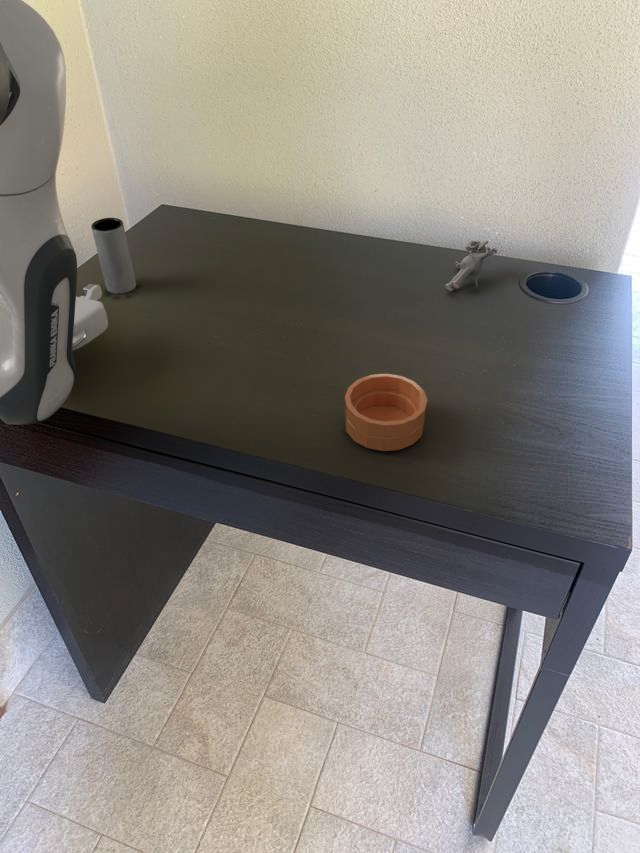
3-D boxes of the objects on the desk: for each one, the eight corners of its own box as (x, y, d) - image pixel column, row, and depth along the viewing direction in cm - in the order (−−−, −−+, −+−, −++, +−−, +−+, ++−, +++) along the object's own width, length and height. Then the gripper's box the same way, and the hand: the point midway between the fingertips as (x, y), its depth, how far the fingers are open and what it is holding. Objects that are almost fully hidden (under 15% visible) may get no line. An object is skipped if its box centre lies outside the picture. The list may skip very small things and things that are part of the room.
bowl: (394, 466, 75) (396, 436, 72) (329, 432, 80) (328, 402, 77) (438, 423, 81) (442, 393, 78) (374, 393, 85) (376, 364, 82)
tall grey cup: (100, 291, 105) (84, 228, 98) (117, 277, 108) (103, 215, 101) (125, 296, 104) (110, 232, 97) (142, 282, 107) (129, 220, 100)
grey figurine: (421, 281, 106) (453, 243, 109) (445, 309, 108) (477, 270, 111) (458, 264, 97) (492, 223, 100) (484, 295, 99) (517, 254, 101)
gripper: (60, 330, 79) (127, 275, 89) (-75, 299, 85) (2, 250, 94) (74, 374, 83) (137, 316, 93) (-56, 341, 89) (16, 290, 99)
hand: (68, 283), depth 94 cm, fingers open, 8 cm apart
